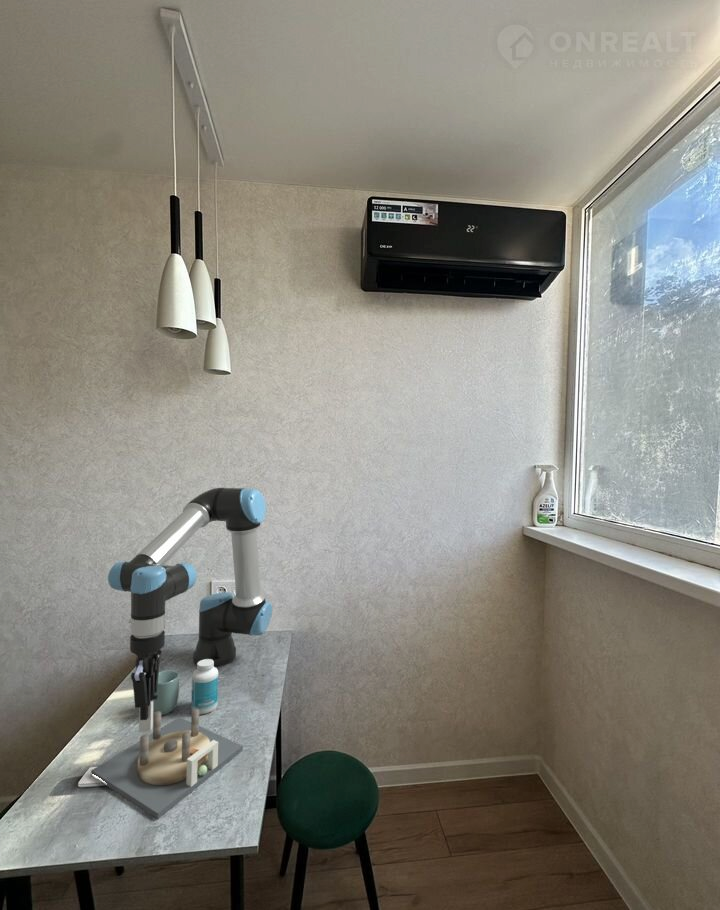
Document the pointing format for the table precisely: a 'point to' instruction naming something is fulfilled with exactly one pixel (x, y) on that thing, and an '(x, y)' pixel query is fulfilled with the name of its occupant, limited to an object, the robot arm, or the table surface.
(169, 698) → the cup
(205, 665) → the pill bottle
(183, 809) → the table surface
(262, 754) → the table surface
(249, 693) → the table surface
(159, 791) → the stand
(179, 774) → the disc
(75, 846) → the table surface
